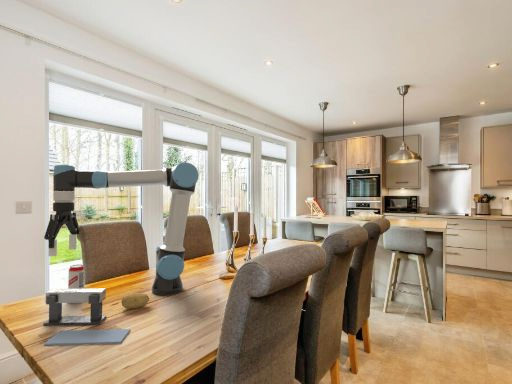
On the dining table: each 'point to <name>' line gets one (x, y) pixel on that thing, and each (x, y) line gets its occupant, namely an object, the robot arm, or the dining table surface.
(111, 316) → the dining table surface
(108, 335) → the mat
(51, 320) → the standards
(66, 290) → the rail
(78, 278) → the beer can
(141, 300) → the potato
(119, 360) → the dining table surface
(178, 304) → the dining table surface
